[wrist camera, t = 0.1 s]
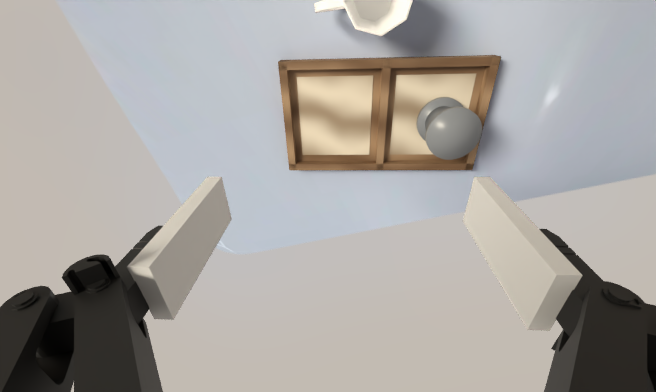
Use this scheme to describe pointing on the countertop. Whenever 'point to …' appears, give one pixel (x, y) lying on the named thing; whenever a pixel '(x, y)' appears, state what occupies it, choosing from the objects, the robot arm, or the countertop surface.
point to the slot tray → (376, 109)
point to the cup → (370, 13)
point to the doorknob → (448, 128)
